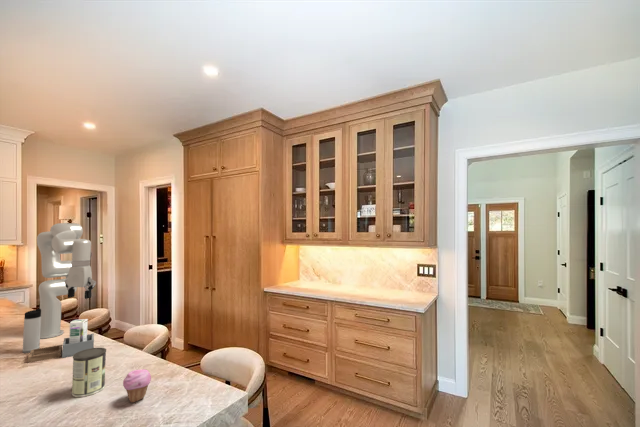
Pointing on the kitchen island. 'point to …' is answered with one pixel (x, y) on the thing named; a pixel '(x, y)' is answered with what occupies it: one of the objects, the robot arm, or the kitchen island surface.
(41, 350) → the socket collar
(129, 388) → the cupcake
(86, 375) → the coffee can
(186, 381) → the kitchen island surface
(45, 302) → the robot arm
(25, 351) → the travel mug
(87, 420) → the kitchen island surface
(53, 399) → the kitchen island surface
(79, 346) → the bin
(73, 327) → the syrup box
